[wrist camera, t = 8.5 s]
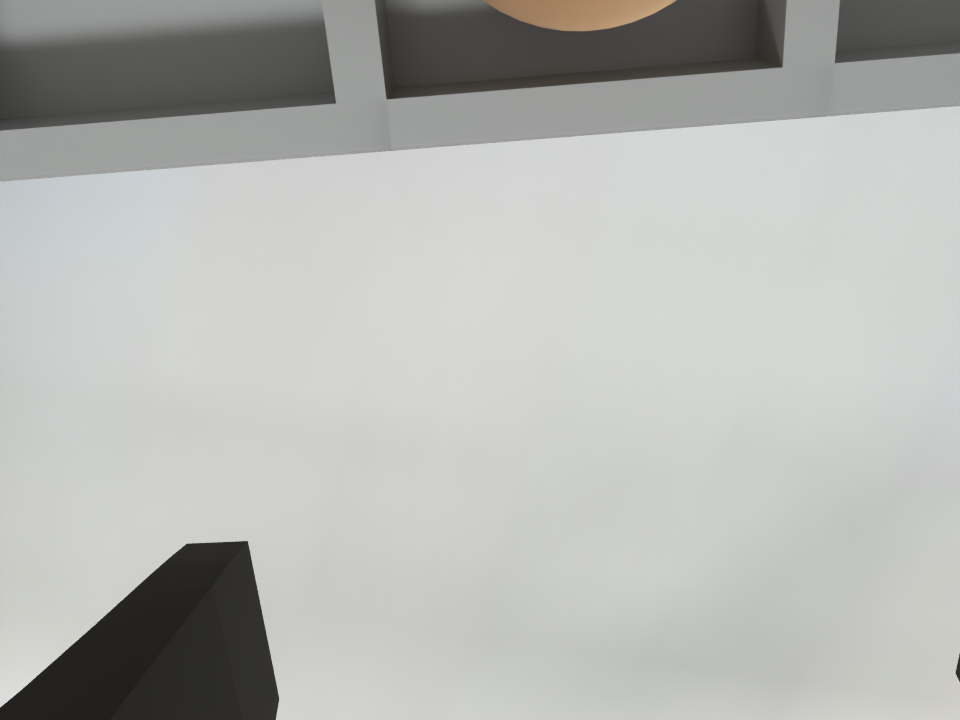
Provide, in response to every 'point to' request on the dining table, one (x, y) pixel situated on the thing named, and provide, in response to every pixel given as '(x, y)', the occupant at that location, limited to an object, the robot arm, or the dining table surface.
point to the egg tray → (433, 75)
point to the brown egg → (578, 12)
